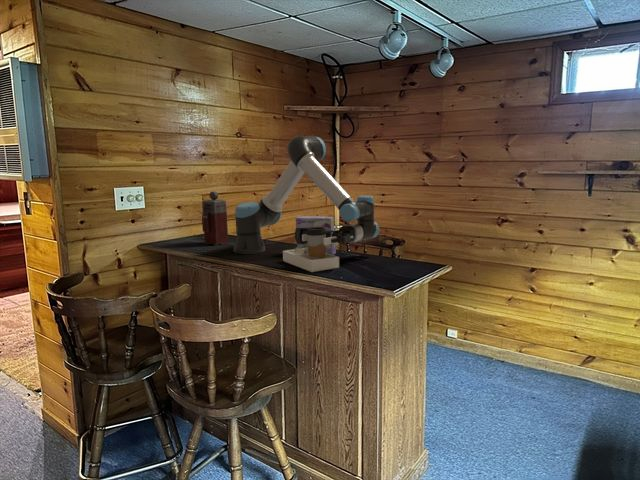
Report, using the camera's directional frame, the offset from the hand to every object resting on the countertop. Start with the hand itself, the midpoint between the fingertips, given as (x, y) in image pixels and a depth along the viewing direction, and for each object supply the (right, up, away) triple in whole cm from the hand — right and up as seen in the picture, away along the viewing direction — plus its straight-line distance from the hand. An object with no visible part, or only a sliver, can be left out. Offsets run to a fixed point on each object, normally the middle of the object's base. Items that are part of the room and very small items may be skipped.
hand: (313, 239), depth 195 cm
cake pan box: (+1, -7, +30) cm, 30 cm away
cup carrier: (-1, -10, +9) cm, 13 cm away
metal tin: (-5, -8, +13) cm, 17 cm away
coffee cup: (+2, -10, +3) cm, 11 cm away
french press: (-53, -2, +61) cm, 81 cm away
